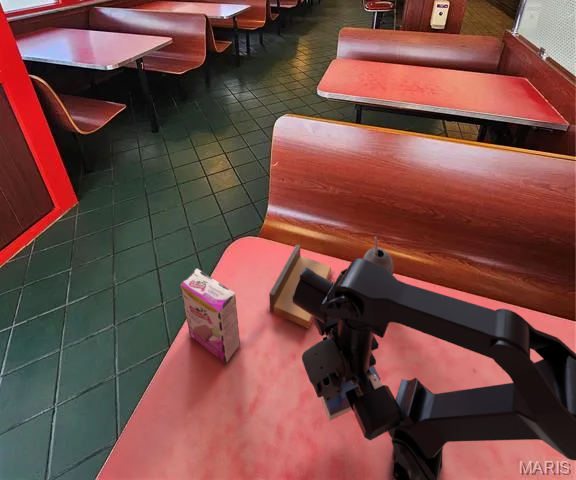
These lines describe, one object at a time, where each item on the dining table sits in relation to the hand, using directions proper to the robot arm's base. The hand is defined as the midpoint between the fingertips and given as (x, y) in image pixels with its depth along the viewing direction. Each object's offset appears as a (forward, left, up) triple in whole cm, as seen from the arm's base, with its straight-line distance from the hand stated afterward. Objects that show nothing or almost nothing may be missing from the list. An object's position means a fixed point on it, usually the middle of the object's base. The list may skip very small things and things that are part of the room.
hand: (349, 390), depth 58 cm
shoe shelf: (+17, -19, -7) cm, 26 cm away
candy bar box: (+30, 0, -7) cm, 31 cm away
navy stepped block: (0, 0, -1) cm, 1 cm away
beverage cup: (0, -24, -7) cm, 25 cm away
